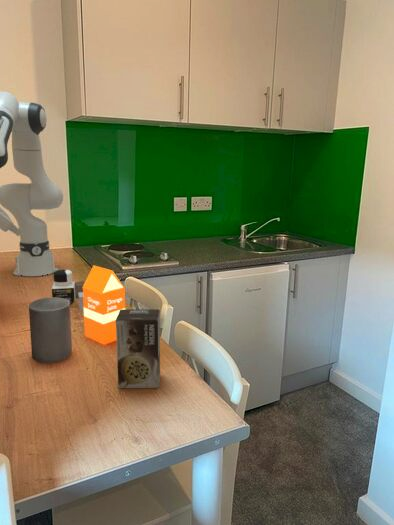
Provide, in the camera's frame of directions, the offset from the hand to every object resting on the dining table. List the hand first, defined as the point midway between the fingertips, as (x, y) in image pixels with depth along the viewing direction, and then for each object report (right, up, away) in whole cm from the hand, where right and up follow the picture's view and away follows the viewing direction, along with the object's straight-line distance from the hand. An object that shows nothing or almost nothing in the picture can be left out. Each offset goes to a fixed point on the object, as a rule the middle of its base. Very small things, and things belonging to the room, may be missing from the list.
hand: (19, 233), depth 124 cm
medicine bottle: (+10, -24, +12) cm, 28 cm away
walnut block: (+13, -22, +21) cm, 33 cm away
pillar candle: (+19, -33, -24) cm, 45 cm away
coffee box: (+43, -36, -36) cm, 67 cm away
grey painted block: (+19, -25, +9) cm, 32 cm away
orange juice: (+30, -30, -13) cm, 45 cm away
